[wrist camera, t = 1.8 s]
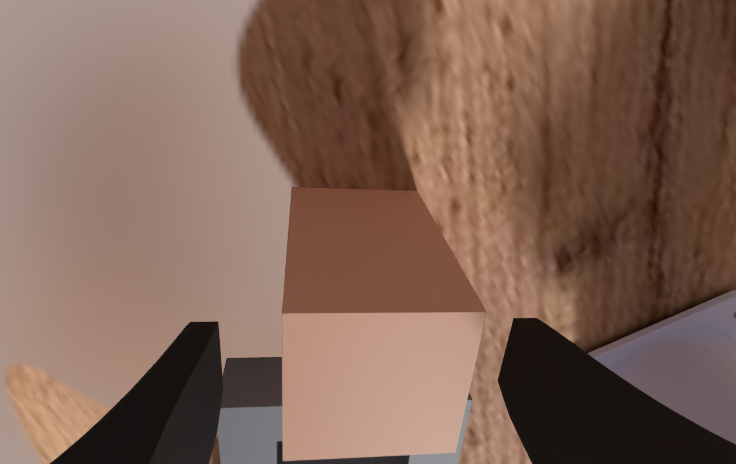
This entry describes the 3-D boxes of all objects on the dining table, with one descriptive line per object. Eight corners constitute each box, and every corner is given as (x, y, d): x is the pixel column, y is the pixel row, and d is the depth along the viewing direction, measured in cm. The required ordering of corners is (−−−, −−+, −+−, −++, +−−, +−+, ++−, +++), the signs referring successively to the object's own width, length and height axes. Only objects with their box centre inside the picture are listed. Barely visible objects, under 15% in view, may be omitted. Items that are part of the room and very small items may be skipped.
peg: (417, 190, 16) (486, 312, 10) (403, 294, 18) (455, 452, 12) (291, 186, 16) (281, 313, 9) (291, 294, 17) (282, 461, 11)
